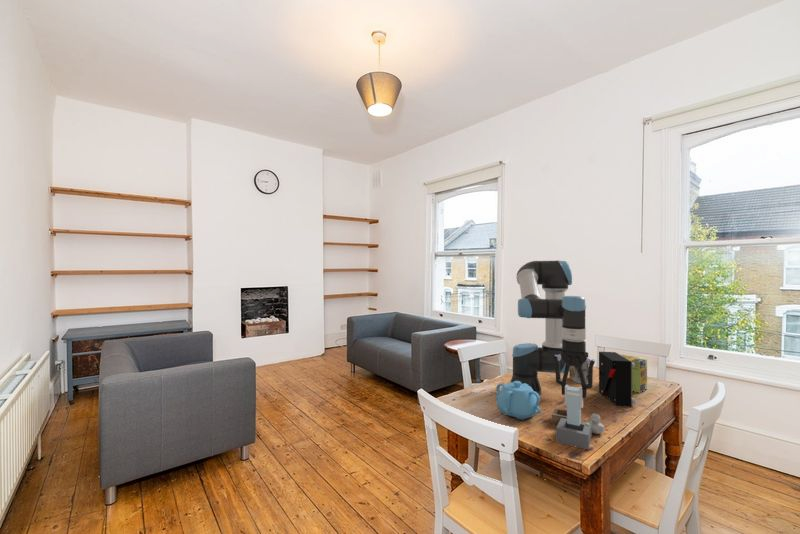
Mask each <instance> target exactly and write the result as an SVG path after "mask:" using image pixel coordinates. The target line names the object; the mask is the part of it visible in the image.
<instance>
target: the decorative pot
mask: <svg viewBox="0 0 800 534" xmlns="http://www.w3.org/2000/svg"><path fill="white" fill-rule="evenodd" d="M496 392H497V396H496V397H495V401H496V406H497V408H498V410H499V411H500V412H501V413H502V414H503V413H504V414H506V415H505V416H510V417H513V418H517V419H518V420H519V419H521V420H520V421H524V420H525V419H529V418H531V417H533V416H535V415H540V414H541V413H542V409H541V408H540V407H539V404H540V402H541V395H540V396H539V394H538V393H537V392H535V391H533V389H532V388H531V387H530V386H529V385H528V384H526V383H523V384H521V382H520V381H513V382H507V383H504V382H500V383H498V384H497V385H496ZM504 414H503V415H504ZM523 419H524V420H523Z"/></svg>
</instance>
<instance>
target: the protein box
mask: <svg viewBox="0 0 800 534" xmlns="http://www.w3.org/2000/svg"><path fill="white" fill-rule="evenodd" d="M618 354H619V355H622V356H623V357H625V358H626V359H628V360H630V361H631V362H633V363H634V364H635V367H634V368H633V367H632V391H634V392H633V393H636V392H639V393H638V394H642V393H643V392H645V391H646V390H645V389H647V390H648V358H645V357H641V356H639V357H638V356H632V355H627V354H621V353H618ZM644 390H645V391H644ZM642 391H643V392H642ZM641 392H642V393H641Z"/></svg>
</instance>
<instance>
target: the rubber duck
mask: <svg viewBox="0 0 800 534" xmlns="http://www.w3.org/2000/svg"><path fill="white" fill-rule="evenodd" d="M587 423H589V424H591V434H595V435H600V434H602V433H603V432H604V431H605V426H604V425H603V424H602V423H601V417H600V415H599V414H598V413H597V414H596V412H593V413H592V414H591V416H590V421H588V422H587Z"/></svg>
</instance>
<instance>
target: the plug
mask: <svg viewBox="0 0 800 534" xmlns="http://www.w3.org/2000/svg"><path fill="white" fill-rule="evenodd" d="M580 388H581V387H576V386H575V387H574V386H571V385H570V386H569V385H568V388H567V405H566V410H567V423H568V424H572V425H577V426H580V423H581V422H582V408H580Z"/></svg>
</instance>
